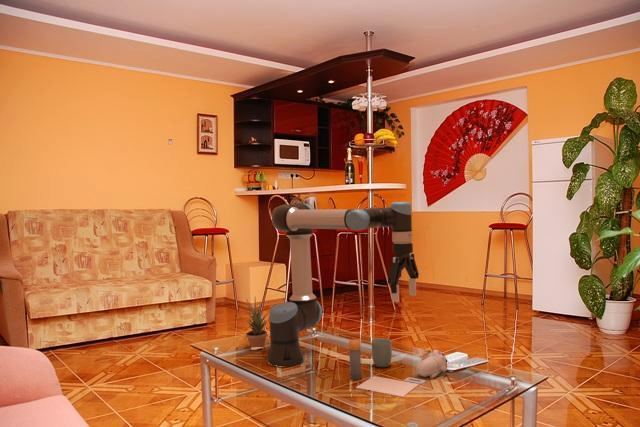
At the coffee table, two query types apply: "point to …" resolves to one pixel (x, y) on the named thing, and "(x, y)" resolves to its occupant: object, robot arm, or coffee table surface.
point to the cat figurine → (431, 364)
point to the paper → (388, 386)
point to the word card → (414, 380)
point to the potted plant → (256, 328)
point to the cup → (381, 352)
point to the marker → (355, 359)
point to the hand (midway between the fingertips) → (404, 298)
